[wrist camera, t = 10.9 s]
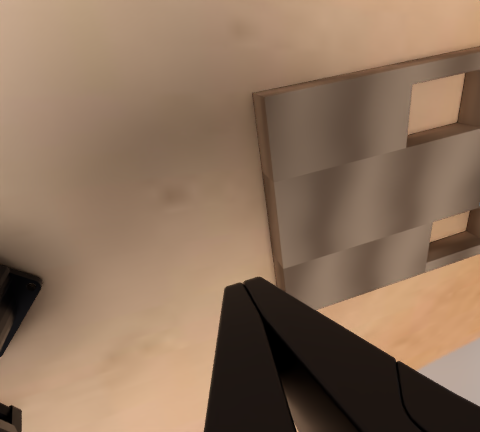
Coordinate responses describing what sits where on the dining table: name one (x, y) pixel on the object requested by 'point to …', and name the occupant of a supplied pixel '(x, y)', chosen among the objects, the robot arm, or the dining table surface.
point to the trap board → (366, 178)
